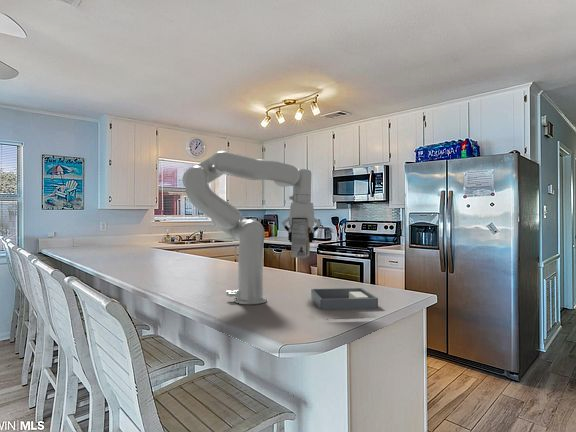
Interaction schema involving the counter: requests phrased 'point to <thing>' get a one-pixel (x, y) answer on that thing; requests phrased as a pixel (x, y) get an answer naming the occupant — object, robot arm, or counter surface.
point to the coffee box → (300, 238)
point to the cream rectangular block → (357, 295)
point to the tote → (342, 299)
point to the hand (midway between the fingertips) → (300, 242)
